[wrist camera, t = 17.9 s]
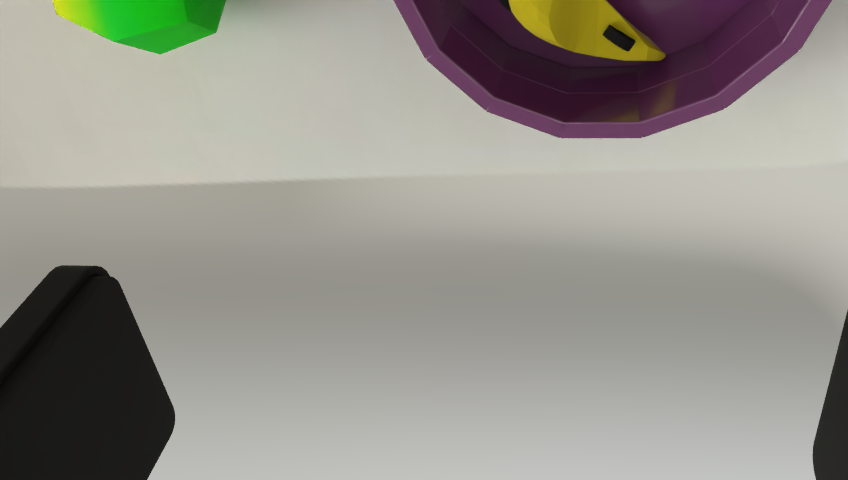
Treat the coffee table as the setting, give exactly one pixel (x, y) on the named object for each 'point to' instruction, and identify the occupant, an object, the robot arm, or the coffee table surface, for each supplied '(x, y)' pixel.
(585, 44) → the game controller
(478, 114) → the coffee table surface
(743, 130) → the coffee table surface
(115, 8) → the apple
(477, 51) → the bowl
